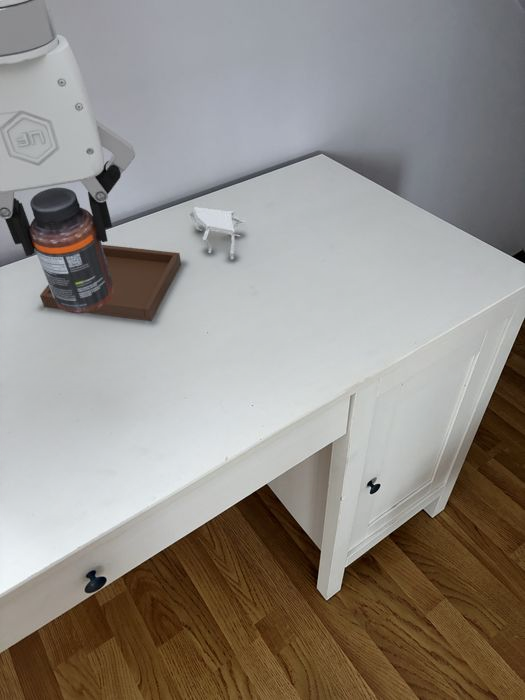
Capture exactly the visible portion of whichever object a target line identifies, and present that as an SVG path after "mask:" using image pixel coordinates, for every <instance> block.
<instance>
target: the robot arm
mask: <svg viewBox="0 0 525 700" xmlns="http://www.w3.org/2000/svg"><path fill="white" fill-rule="evenodd" d="M103 147H104V148H105V149H106V150H107V151H109V152H110V153H112V155H111V156H110V159H109V160H107V161H105V158H104V150H103ZM135 157H136V152H135V148H134V147H133V145H132V144H131V143H130V142H128V141H127V140H126V139H125V138H123V137H122V136H120V135H119V134H118V133H115V131H113V130H111V128H108V127H107V126H106V125H104V124H103V123H101V122H100V121H99V120H97V119H96V118H95V114H94V110H93V106H92V104H91V100H90V97H89V93H88V89H87V87H86V84H85V80H84V78H83V75H82V72H81V69H80V67H79V64H78V62H77V59H76V57H75V55H74V52H73V50H72V48H71V46H70V44H69V42H68V40H67V38H66V37H65V36H63V35H60V34H57V31H56V28H55V23H54V20H53V16H52V12H51V9H50V5H49V1H48V0H0V218H1V219H4V220H5V223H6V225H7V228H8V230H9V233H10V235H11V239H12V241H13V243H14V245H21V246H22V249H23V251H24V254H25V256H26V257H30V256H33V255H34V254H35V252H36V251H35V248H34V245H33V243H32V240H31V237H30V233H29V230H30V225H31V223H30V222H29V219H28V217H27V216H28V215H27V213H26V210H25V208H24V205H23V203H22V202H20V201H19V199H17V198H16V197H15V192H23V191H27V190H28V191H29V190H35V189H41V188H47V187H53V186H59V185H60V186H61V185H64V184H65V185H66V184H71V183H77V182H80V183H81V184H82V185H83V186H84V188H85V189H86V190H87V195H88V202H89V207H90V211H91V212H90V213H91V215H92V216H93V219H94V223H95V226H96V230H97V234H98V237H99V241H101V243H106V242H109V241H108V235H107V230H106V229H111V228H113V223H112V219H111V215H110V210H109V207H108V204H107V203H108V202H107V200H108V198H109V193H110V192H111V191H112V190H113V189H114V187H115V185H117V183H118V181H120V179H121V176H122V174H123V173H124V172H125V171H126V170H127V168H128V167H129V166H130V164H131V163H132V161H133V160H134V159H135Z"/></svg>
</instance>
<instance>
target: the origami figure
mask: <svg viewBox="0 0 525 700" xmlns="http://www.w3.org/2000/svg"><path fill="white" fill-rule="evenodd" d="M234 214H235V211H232V210H231V211H230V210H222V209H212V208H206V207H198V206H193V207H192V209H191V212H190V214H189V217H190V219H191V220H192V222H193V224H194V226H195V229H196V230H198V231H200V232H202V231H203V229H201V228H200V226H199V224H200V225H202V227H204V228H205V230H204V233H203V236H202V241H203V242H204V243H205V244H206V246H208V251H207V252H208V253H209V254H212V246H211V244H210V243H209V241H208V240H207V238H208V236H209V232H210V231H211V232H212V231H213V232H217V233H222V234H226V235H229V236H230V237H231V243H230V245H231V246H230V252H229V253H230V260H234V254H235V251H236V250H235V248H236V239H235V237H241V234H237V233H236V234H235V231H236V230H237V229H238V228H239V227H241V225H243V224H244V223H245V220H244V219H242V218H240V217H238V216H236V215H234ZM233 221H234V222H236V223H235V224H233ZM198 223H199V224H198Z"/></svg>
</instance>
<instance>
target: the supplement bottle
mask: <svg viewBox="0 0 525 700" xmlns="http://www.w3.org/2000/svg"><path fill="white" fill-rule="evenodd" d="M29 205H30V208H31V211H32V214H33V217H34V218H33V220H32V221H31V222H30V230H29V233H30V237H31V240H32V243H33V245H34V251H35V252H36V255H37V259H38V261H39V264H40V266H41V269H42V271H43V273H44V276H45V279H46V282H47V285H48V284H49V287H50V289H51V292H52V295H53V297H54V299H55V301H56V304H57V305H58V306H59V308H61V309H60V310H62V311H64V312H67V313H71V314H76V315H79V314H88V313H87V312H91V311H94V310H96V309H99V308H101V307H102V306H103V305H105V304H106V303H107V302H108V301H109V300H110V298H111V297H112V295H113V292H114V288H113V283H112V279H111V275H110V272H109V268H108V265H107V261H106V258H105V254H104V250H103V247H102V245H103V244H102V243H103V242H102V241H99V237H98V234H97V230H96V226H95V223H94V219H93V215H92V212H90V211H88V210H87V209H86V208H83V207H80V206H81V205H80V203H79V200H78V196H77V194H76V192H75V191H74V190H72V189H69V188H67V187H51V188H48V189H44V190H42V191H39V192H38V193H36V194H35V195H34V196H33V197H32V198H31V200H30V203H29Z"/></svg>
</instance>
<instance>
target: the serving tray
mask: <svg viewBox="0 0 525 700" xmlns="http://www.w3.org/2000/svg"><path fill="white" fill-rule="evenodd" d="M102 247H103V250H104V254H105V258H106V261H107V265H108V268H109V272H110V275H111V279H112V283H113V288H114V292H113V295H112V297H111V298H110V300H109V301H108V302H107V303H106V304H105V305H103V306H102V307H101V308H99V309H96V310H94V311H91V312H87V313H86V314H94V315H95V314H96V315H103V316H110V317H116V318H117V317H118V318H126V319H133V320H139V321H140V320H142V321H147V322H148V321H149V322H151V321H153V319H154V317H155V315H156V313H157V311H158V309H159V307H160V305H161V303H162V302H163V300H164V298H165V296H166V294H167V292H168V291H169V289H170V287H171V285H172V282H173V281H174V279H175V277H176V275H177V273H178V271H179V269H180V267H181V265H182V259H181V254H180V252H175V251H174V252H173V251H165V250H156V249H148V248H147V249H146V248H137V247H130V246H129V247H128V246H117V245H109V244H102ZM39 297H40V300H41V303H42V306H43V307H44V308H50V309H55V310H56V309H57V310H62V309H61V308H59V306H58V305H57V304H56V301H55V299H54V297H53V295H52V292H51V289H50V287H49V284H48V283H47V286H46V287H45V288H44V290H43V291H42V292H41V293H40V294H39Z"/></svg>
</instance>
